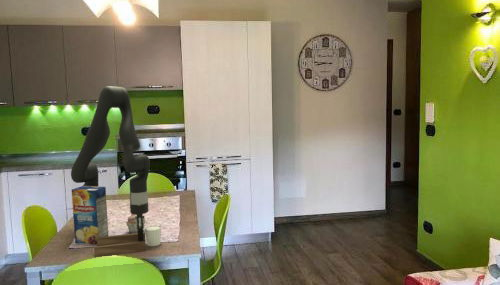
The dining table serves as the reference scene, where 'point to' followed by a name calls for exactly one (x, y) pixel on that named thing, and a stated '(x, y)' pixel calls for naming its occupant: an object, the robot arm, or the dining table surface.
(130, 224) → the cupcake
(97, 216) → the juice carton
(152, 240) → the white tapered cylinder
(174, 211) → the dining table surface
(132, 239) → the walnut channel
